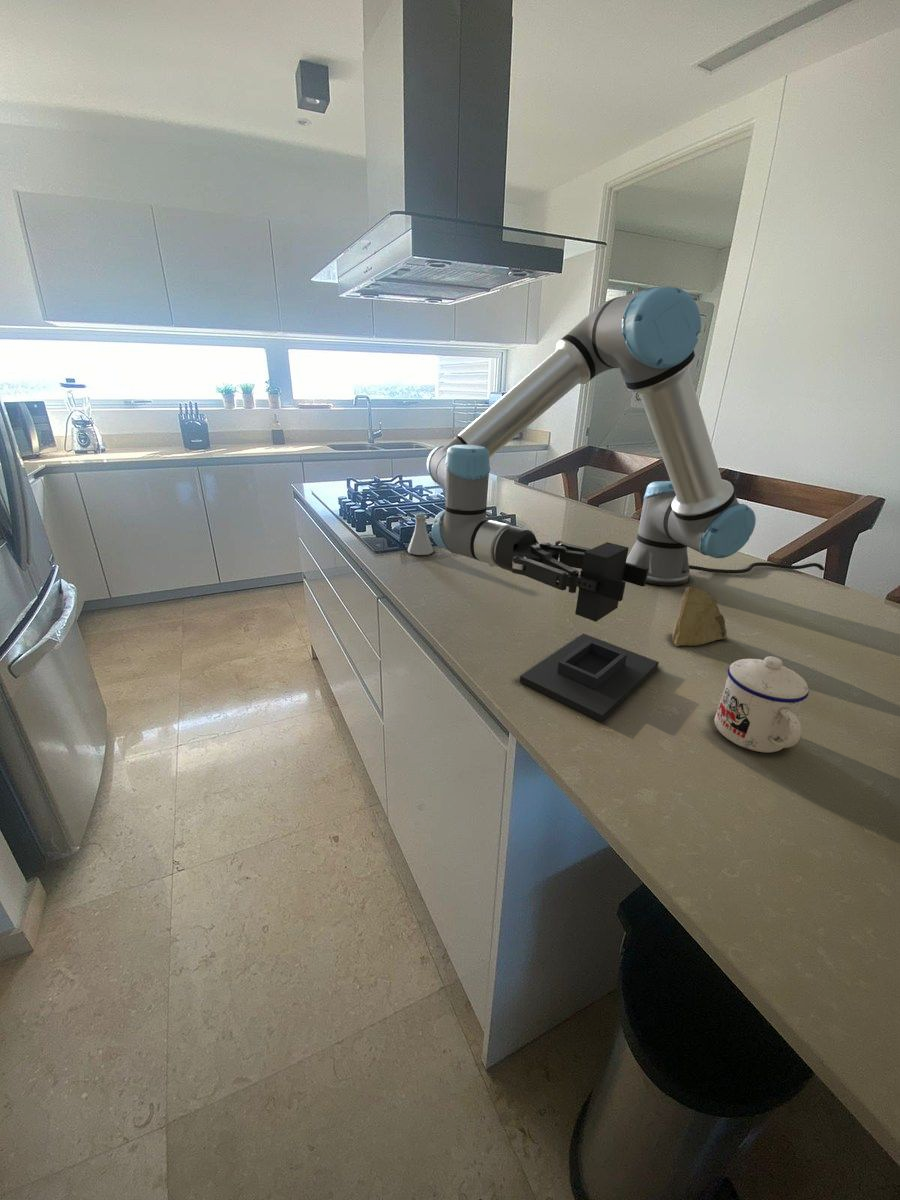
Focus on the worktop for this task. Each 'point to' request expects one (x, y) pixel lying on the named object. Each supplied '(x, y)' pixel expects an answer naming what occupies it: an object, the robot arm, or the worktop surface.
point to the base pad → (590, 675)
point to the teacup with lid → (761, 705)
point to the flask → (420, 538)
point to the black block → (606, 563)
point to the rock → (698, 619)
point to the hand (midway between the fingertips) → (634, 584)
